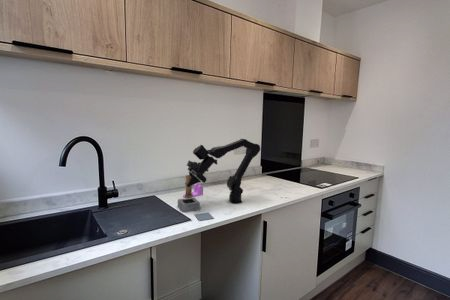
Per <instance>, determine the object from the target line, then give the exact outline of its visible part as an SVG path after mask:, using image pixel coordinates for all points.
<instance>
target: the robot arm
mask: <svg viewBox="0 0 450 300" xmlns="http://www.w3.org/2000/svg"><path fill="white" fill-rule="evenodd" d="M242 147H244V148H246V150H245V155H244V157H243V159H242V161H241V163H240V164H239V166H238V168H237V169H236V171H235V173H234V175H230V176H229V177H228V179H227V180H226V182H227V183H226V186H227V187H226V188H228V189H229V192H230V193H229V198H228V201H229V202H231V204H240V203H243V200H242V194H243V192H244V189H243V188H241V184H242V178H243V177H244V175H245V173H246V171H247V169H248V168H249V166H250V164H251V162H252V160H253V159H254V158H255V157H256V156H257V155H258V154H259V153H260V151H261V146H260V144H259V143H254V142H251V141H249V140H248V139H246V138H240V139H237V140H235V141H233V142H230V143H228V144H225V145H221V146H220V145H219V146H214V147H211V149H206V148H205V146H204V145H202V144H200V145H199V146H197V147H195V148H194V149H193V151H192V154H193V155H194V156H195V157H197V159H199V160H200V161H201V162H197V161H191V160H188V161H187V164H186V166H187V167H188V168H187V170H188V175H191V176H192V179H191V180H190V181H189V183H188V184H187V187H189V186H191V185H192V186H194V185H195V184H196V183H197V184H200V183H201V182H202V183H206V182H207V178H206V176H205V175H204V174H206V172H209V170H210V168H211V167H212V165H218V159H221V158H222V157H224V156H225V155H226V154H227V153H229V152H232V151H234V150H237V149H240V148H242ZM184 185H185V186H186V182H185V184H184Z"/></svg>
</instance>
